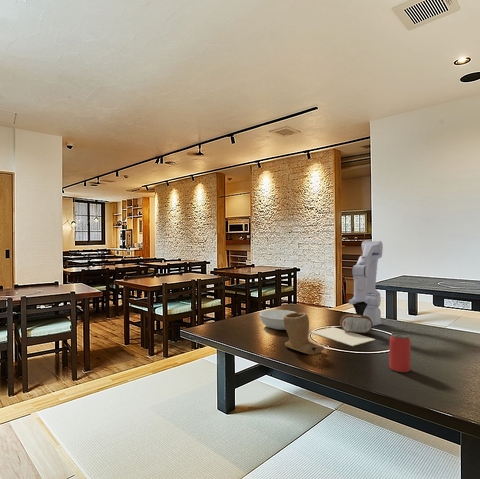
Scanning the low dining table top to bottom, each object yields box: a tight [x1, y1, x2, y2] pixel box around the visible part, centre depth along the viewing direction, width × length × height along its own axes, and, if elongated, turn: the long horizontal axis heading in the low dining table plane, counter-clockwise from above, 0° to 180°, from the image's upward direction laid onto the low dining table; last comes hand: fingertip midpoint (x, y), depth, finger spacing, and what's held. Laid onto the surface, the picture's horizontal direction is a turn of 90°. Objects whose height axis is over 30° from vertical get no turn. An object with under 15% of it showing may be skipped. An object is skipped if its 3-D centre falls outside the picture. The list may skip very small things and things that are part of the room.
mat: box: [310, 326, 376, 347], centre depth 157 cm, size 16×24×1 cm, turn 34°
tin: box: [339, 313, 374, 334], centre depth 162 cm, size 15×3×8 cm, turn 84°
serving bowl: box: [259, 309, 295, 331], centre depth 171 cm, size 21×21×7 cm
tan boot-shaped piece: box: [284, 311, 325, 355], centre depth 137 cm, size 15×12×15 cm
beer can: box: [388, 332, 412, 373], centre depth 118 cm, size 7×7×12 cm
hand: (359, 317), depth 164 cm, fingers closed
